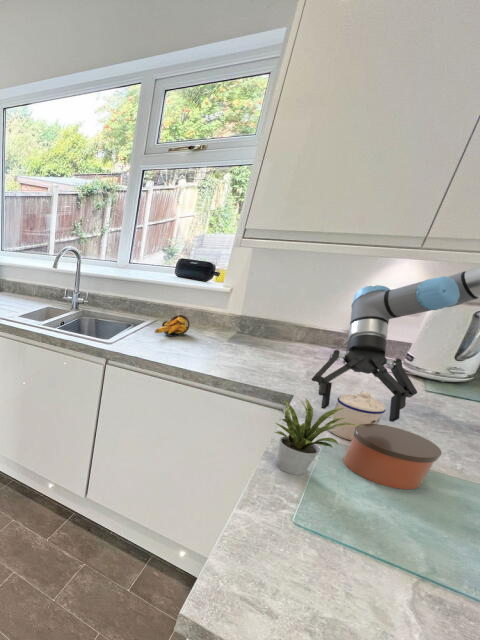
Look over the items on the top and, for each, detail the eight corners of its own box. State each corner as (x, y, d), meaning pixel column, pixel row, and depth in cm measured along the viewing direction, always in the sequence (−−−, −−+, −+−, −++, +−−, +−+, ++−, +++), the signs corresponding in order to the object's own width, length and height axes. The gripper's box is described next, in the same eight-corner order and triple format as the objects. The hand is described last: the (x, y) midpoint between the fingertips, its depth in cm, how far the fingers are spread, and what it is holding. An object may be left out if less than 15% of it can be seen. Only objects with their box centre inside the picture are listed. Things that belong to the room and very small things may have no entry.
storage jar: (410, 463, 95) (427, 433, 92) (434, 498, 84) (454, 465, 81) (335, 447, 101) (348, 418, 98) (348, 477, 90) (364, 446, 87)
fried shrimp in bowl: (198, 324, 179) (183, 318, 166) (180, 344, 184) (164, 340, 171) (182, 312, 184) (166, 305, 171) (164, 332, 189) (147, 327, 177)
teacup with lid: (366, 447, 101) (386, 404, 96) (320, 431, 108) (337, 391, 103) (378, 431, 108) (397, 391, 103) (334, 417, 114) (351, 379, 109)
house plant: (342, 470, 93) (372, 405, 86) (332, 498, 84) (365, 429, 77) (267, 444, 102) (289, 384, 95) (252, 468, 93) (275, 404, 86)
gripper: (421, 354, 108) (416, 430, 102) (304, 339, 119) (293, 406, 114) (440, 341, 102) (435, 420, 96) (314, 326, 113) (303, 396, 107)
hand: (358, 413), depth 105 cm, fingers open, 13 cm apart
